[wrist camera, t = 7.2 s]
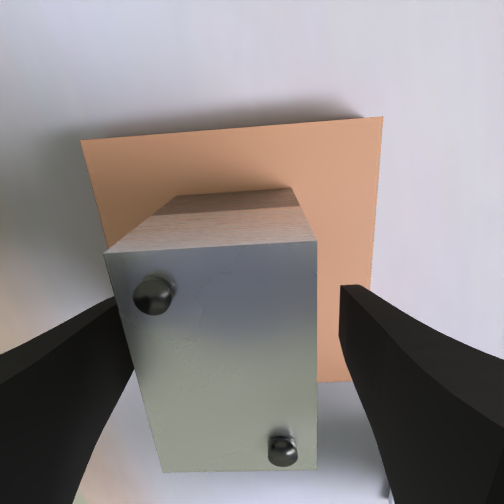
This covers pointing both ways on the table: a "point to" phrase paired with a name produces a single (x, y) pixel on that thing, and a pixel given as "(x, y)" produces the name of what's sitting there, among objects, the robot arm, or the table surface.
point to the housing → (224, 329)
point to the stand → (259, 178)
